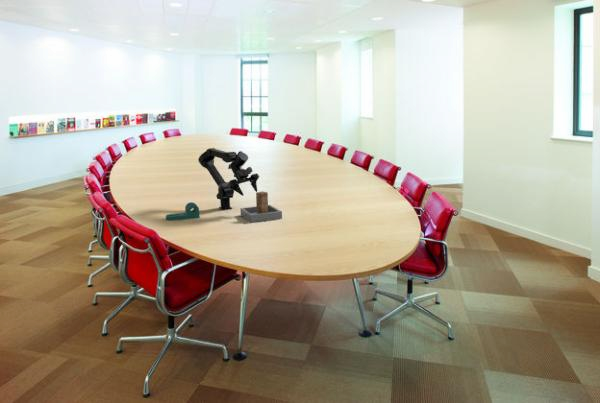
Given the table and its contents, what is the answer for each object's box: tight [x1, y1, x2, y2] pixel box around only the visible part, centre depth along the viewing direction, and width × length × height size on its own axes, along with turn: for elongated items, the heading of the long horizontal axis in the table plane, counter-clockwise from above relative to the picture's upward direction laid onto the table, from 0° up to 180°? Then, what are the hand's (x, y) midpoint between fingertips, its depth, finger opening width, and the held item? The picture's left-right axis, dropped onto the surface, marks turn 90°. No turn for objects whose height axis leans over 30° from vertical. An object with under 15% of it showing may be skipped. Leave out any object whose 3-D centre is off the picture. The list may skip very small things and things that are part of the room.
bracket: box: [165, 201, 201, 222], centre depth 269 cm, size 18×7×8 cm, turn 110°
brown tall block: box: [255, 191, 269, 214], centre depth 268 cm, size 4×4×13 cm
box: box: [239, 204, 283, 224], centre depth 270 cm, size 18×18×4 cm
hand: (250, 193), depth 272 cm, fingers open, 9 cm apart
